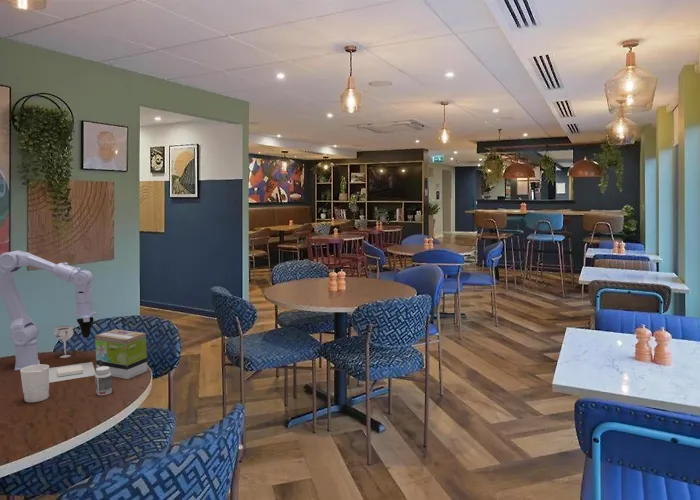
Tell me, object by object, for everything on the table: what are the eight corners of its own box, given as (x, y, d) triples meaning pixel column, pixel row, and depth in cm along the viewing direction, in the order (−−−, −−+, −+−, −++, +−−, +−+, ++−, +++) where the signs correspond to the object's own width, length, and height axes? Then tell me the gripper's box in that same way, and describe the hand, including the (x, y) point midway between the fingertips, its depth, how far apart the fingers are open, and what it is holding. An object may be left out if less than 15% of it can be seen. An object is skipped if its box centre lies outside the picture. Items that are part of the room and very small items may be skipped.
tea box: (95, 374, 192) (93, 334, 190) (117, 366, 201) (115, 328, 200) (127, 380, 186) (125, 338, 185) (148, 371, 195) (146, 331, 194)
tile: (57, 368, 194) (57, 373, 188) (81, 364, 198) (82, 369, 192) (57, 372, 194) (57, 377, 188) (81, 368, 198) (83, 373, 192)
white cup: (56, 396, 171) (54, 366, 170) (33, 405, 164) (30, 373, 163) (40, 392, 174) (38, 363, 173) (16, 401, 167) (14, 370, 166)
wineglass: (69, 359, 210) (67, 329, 209) (52, 359, 210) (50, 329, 209) (78, 354, 217) (76, 325, 216) (61, 354, 217) (59, 325, 216)
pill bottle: (115, 391, 175) (114, 366, 174) (104, 396, 171) (103, 371, 170) (104, 389, 177) (102, 365, 176) (92, 394, 172) (91, 369, 171)
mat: (44, 369, 198) (44, 368, 198) (92, 362, 206) (91, 361, 206) (45, 384, 182) (45, 383, 182) (96, 375, 191) (96, 375, 191)
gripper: (97, 304, 199) (99, 339, 200) (93, 297, 211) (95, 331, 212) (76, 306, 195) (78, 342, 196) (73, 299, 208) (76, 333, 209)
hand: (86, 336), depth 204 cm, fingers closed
